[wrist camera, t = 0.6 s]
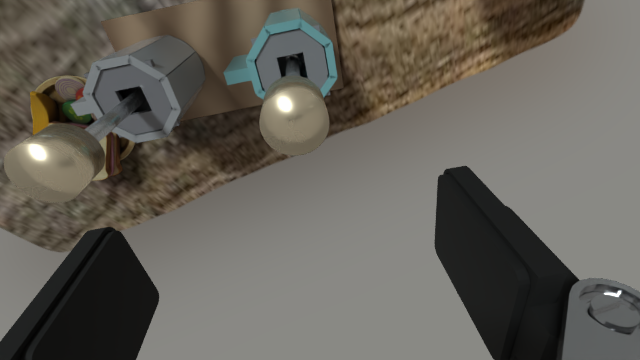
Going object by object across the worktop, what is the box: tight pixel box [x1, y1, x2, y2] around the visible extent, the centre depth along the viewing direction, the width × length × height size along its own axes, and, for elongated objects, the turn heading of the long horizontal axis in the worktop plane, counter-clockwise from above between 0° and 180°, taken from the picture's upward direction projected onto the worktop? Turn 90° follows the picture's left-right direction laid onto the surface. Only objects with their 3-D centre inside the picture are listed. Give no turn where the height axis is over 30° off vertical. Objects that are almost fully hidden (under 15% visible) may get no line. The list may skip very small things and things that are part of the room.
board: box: [101, 0, 344, 121], centre depth 41 cm, size 26×13×1 cm, turn 100°
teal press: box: [224, 7, 337, 99], centre depth 35 cm, size 10×8×12 cm
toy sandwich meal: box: [30, 76, 135, 181], centre depth 43 cm, size 12×14×5 cm
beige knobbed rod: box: [4, 86, 151, 203], centre depth 26 cm, size 5×5×16 cm
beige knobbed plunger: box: [259, 52, 330, 156], centre depth 26 cm, size 5×5×16 cm
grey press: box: [70, 35, 206, 143], centre depth 35 cm, size 10×8×12 cm
